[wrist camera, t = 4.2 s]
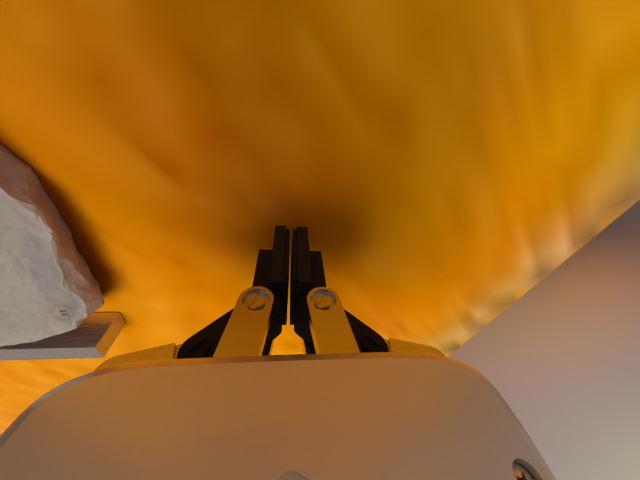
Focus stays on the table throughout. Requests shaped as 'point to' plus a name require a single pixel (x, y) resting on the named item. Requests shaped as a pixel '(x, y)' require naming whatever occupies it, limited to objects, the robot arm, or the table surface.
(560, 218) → the table surface
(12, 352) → the steel lip bracket
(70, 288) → the stone block
